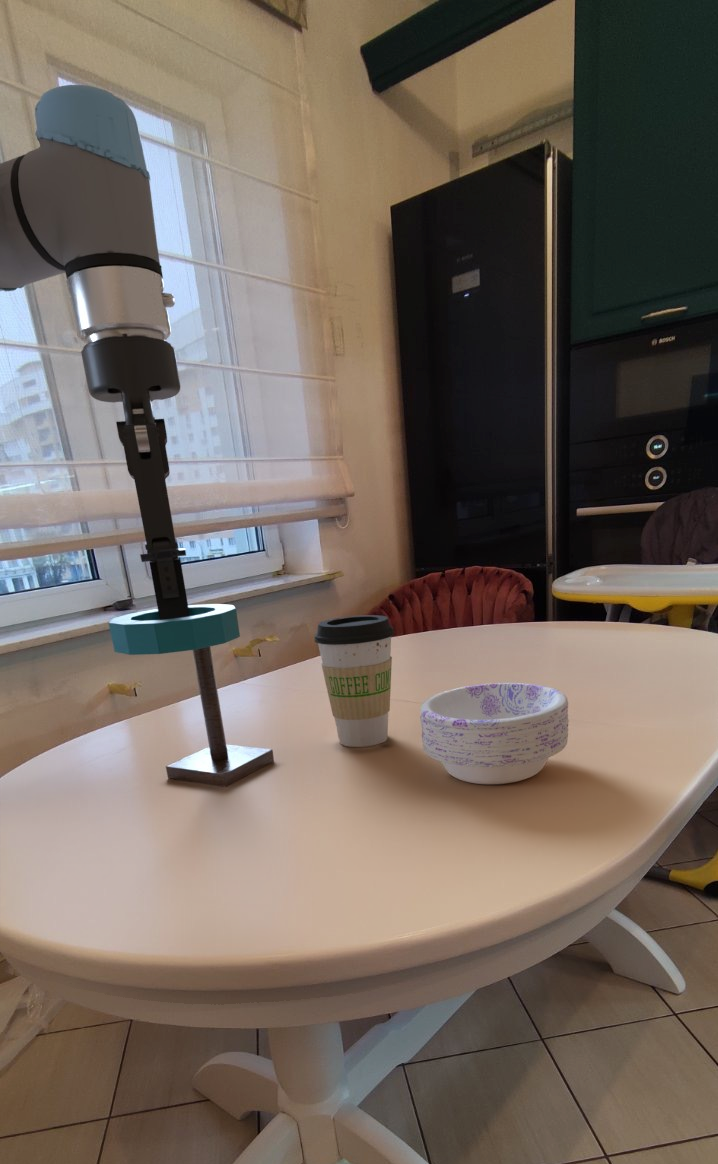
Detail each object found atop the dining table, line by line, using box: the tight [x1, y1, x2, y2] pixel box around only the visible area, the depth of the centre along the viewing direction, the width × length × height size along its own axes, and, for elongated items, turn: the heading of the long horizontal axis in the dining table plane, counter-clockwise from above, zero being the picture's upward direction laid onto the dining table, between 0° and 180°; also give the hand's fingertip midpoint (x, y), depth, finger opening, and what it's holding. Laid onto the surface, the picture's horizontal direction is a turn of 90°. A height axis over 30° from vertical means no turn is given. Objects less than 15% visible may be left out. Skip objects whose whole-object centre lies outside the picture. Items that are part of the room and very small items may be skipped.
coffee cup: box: [313, 614, 396, 748], centre depth 90 cm, size 10×10×15 cm
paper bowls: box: [419, 682, 569, 785], centre depth 77 cm, size 15×15×8 cm
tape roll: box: [108, 603, 241, 656], centre depth 64 cm, size 11×11×2 cm
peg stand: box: [165, 646, 275, 787], centre depth 84 cm, size 9×9×16 cm
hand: (177, 631), depth 68 cm, fingers closed on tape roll, 2 cm apart
